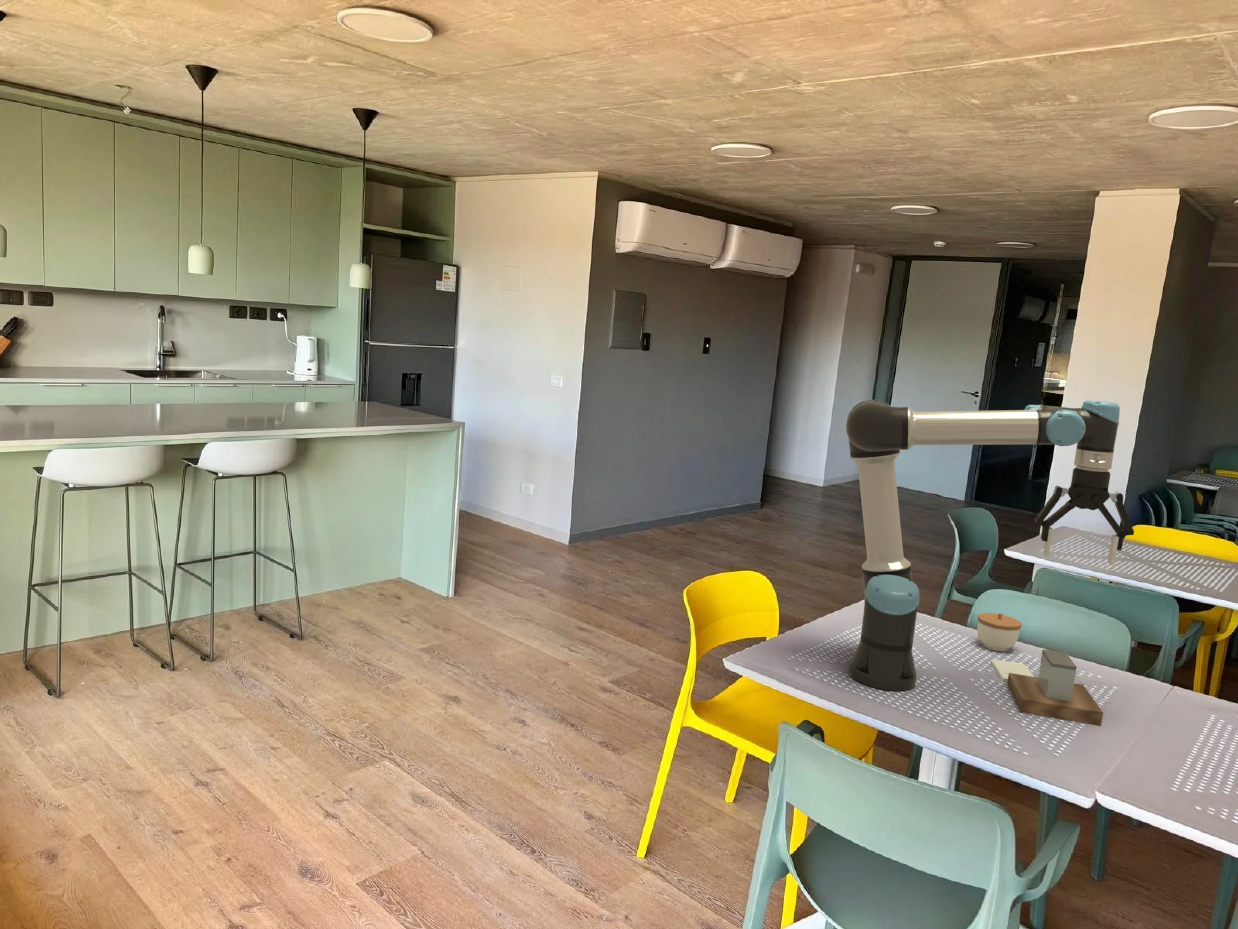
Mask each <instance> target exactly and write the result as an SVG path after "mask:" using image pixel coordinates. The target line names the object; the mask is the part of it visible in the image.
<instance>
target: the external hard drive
mask: <svg viewBox="0 0 1238 929" xmlns="http://www.w3.org/2000/svg"><path fill="white" fill-rule="evenodd" d="M990 665H991V666H992V668H993V670H994V671H995V672H996V674H997V675H998V677H999V678H1000V680H1001V681H1002V682H1003V683H1007V682H1008V675H1009V673H1013V674H1019V675H1026V676H1032V677H1035V676H1034V675H1033V673H1032V672H1031V671H1030V669H1029V668H1028V667H1027V665H1026V664H1025V663H1022V662H1014V661H1006V660H999V659H990Z"/></svg>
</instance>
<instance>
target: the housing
mask: <svg viewBox="0 0 1238 929" xmlns="http://www.w3.org/2000/svg"><path fill="white" fill-rule="evenodd" d="M1077 669H1078V668H1077V666H1076V664H1075V663H1074V662H1073V660H1072V659H1071V657H1070V656H1069V654H1068V653H1067V652H1061V651H1057V650H1055V651H1054V650H1048V649H1042V652H1041V658H1040V664H1039V670H1038V682H1037V683H1038V684H1039V686H1040V688H1041V689H1042V691H1043V693H1044V695H1045V696H1046V698H1052V699H1058V700H1064V701H1070V702H1071V699H1072V692H1073V686H1074V683H1075V679H1076V673H1077Z"/></svg>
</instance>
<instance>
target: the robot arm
mask: <svg viewBox="0 0 1238 929" xmlns="http://www.w3.org/2000/svg"><path fill="white" fill-rule="evenodd" d="M1120 409H1121V407H1120V406H1119V404H1118V403H1117V402H1114V401H1102V400H1101V401H1100V400H1089V399H1087V400H1084V401H1083V402H1082V406H1081V407H1078V408H1077V407H1075V408H1073V407H1065V406H1064V407H1063V406H1053V405H1045V404H1028V405H1026V406H1025V408H1024V409H1021V410H1020V409H1017V410H1015V409H1014V410H1013V409H1011V410H1010V409H1009V410H1008V409H1007V410H1000V409H998V410H935V411H933V410H930V411H929V410H928V411H927V410H926V411H924V410H923V411H915V410H913V409H912V408H911V407H909V406H901V407H900V406H891V405H890V404H888V403H887V402H885V401H882V400H879V399H867V400H862V401H860V402H858V403H857V404H856V405H854V406H853V407H852V409H851V410H850V411H849V413H848V415H847V418H846V424H845V427H846V429H845V430H846V435H847V438H848V445H849V446H848V447H849V453H850V454H849V455H850V459H851V460H852V461H854V462H855V463H856V465H857V472H858V480H859V490H860V491H859V492H860V500H861V510H862V512H861V513H862V520H863V529H864V539H865V540H864V541H865V549H866V560H865V561H864V562H863V563H862V565H861V571H862V572H861V573H862V574H861V575H862V583H863V593H864V599H863V600H864V604H863V605H864V606H863V616H862V622H861V623H862V625H861V632H860V640H859V643H858V646H856V650H855V651H854V654H853V655H852V657H851V659H850V661H849V666H848V674H849V675H850V674H851V676H852V677H853V678H855V679H856V680H855V679H854V680H855V681H857V680H858V681H860V682H862V683H861V684H862V685H865V684H867V685H866V686H868V685H869V686H868V687H871V686H872V687H871V688H874V687H875V688H874V689H879V688H880V689H879V690H884V689H885V691H896V692H897V691H901V692H902V691H908V690H911V689H913V688H914V687H915V686H916V683H917V670H916V666H915V660H914V656H913V644H914V637H915V629H916V623H917V622H916V620H917V614H918V608H919V607H918V606H919V605H920V600H921V599H920V589H919V587H918V585H917V584H916V583H915V582H913V581H914V580H913V574H912V572H913V571H912V564H911V561H909V560H908V559H907V558H905V557H904V548H903V537H902V529H901V517H900V515H901V514H900V506H899V505H900V504H899V498H898V497H899V496H898V486H897V478H896V475H897V474H896V464H895V460H896V459H897V458H898V456H899V455H900V454H901V450H905V451H906V450H910V449H911V448H912V447H914V446H953V445H954V446H955V445H956V446H957V445H958V446H959V445H960V446H963V445H964V446H965V445H967V446H968V445H970V446H971V445H981V446H982V445H984V446H985V445H986V446H987V445H992V446H993V445H994V446H996V445H1056V446H1058V447H1069V446H1074V445H1075V444H1076V450H1075V456H1074V463H1073V465H1074V466H1076V467H1074V468H1073V469H1072V475H1071V476H1072V477H1071V482H1070V486H1069V487H1068V488H1066V487H1062V486H1060V485H1055V487H1054V490H1053V494H1052V496H1050V498H1049V499H1048V500H1047V502H1046V503H1045V505H1044V506H1043V507H1042V509H1041V510H1040V511H1039V513H1038V514H1037V515H1036V517H1035V518H1034V522H1035V523H1036V524H1037V525H1039V526H1041V534H1040V539H1041V541H1042V542H1044V548H1043V552H1042V553H1043V556H1045V557H1048V558H1049V557H1050V553H1051V545H1052V538H1053V531H1054V529H1053V527H1052V526H1053V525H1055V524H1056V523H1057V522H1058V521H1059V520H1060V519H1062V518H1064V516H1065V515H1067V514H1068V513H1069V512H1071V510H1074V509H1075V508H1078V509H1080V510H1090V511H1095V510H1098V511H1099V512H1100V513H1101V515H1103V517H1104V519H1105V520H1106V521H1107V523H1108V524H1109V525H1110V526H1111V528H1112V530H1113V531H1114V532H1115V534H1112V535H1111V539H1110V545H1109V546H1110V547H1109V553H1108V558H1107V563H1108V564H1109V565H1111V566H1115V564H1116V557H1117V552H1118V551H1122V549H1123V544H1124V538H1126V537H1127V536H1133V535H1134V534H1135V531H1134V528H1133V526H1132V523H1131V521H1130V518H1129V515H1128V513H1127V510H1126V507H1125V504H1124V494H1123V493H1121V492H1120V491H1116V492H1109V487H1110V486H1109V485H1110V479H1111V473H1110V470H1111V469H1112V465H1113V458H1114V452H1115V444H1116V440H1117V433H1118V428H1119V425H1120V413H1121V412H1120ZM1065 495H1068V497H1069V500H1067V501H1066V502H1065V503H1064V504H1063V505H1062V506H1061V507H1060V508H1059V509H1057V510H1056V511H1054V513H1052V514H1051V515H1050V516H1049V514H1050V513H1051V511H1052V510H1053V509H1054V507H1055V506H1056V505H1057V503H1058V502H1059V501H1060V499H1061V498H1063V497H1064V496H1065ZM1109 499H1111V502H1112V503H1114V506H1115V508H1116V511H1117V513H1118V517H1119V518H1120V521H1121V524H1122V526H1123V528H1124V529H1122V528H1121V526H1120V525H1119V523H1118V522H1117V521H1116V520H1115V518H1114V517H1113V515H1112V514H1111V513H1110V512H1109V510H1108V508H1107V507H1106V505H1105V503H1106V502H1107V501H1108V500H1109ZM1048 516H1049V517H1048ZM851 676H850V677H851ZM852 677H851V678H852ZM853 678H852V679H853ZM858 681H857V682H858ZM860 682H859V683H860Z"/></svg>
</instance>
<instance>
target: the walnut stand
mask: <svg viewBox="0 0 1238 929" xmlns="http://www.w3.org/2000/svg"><path fill="white" fill-rule="evenodd" d="M1037 682H1038V677H1037V676H1034V677H1032V676H1026V675H1019V674H1013V673H1009V675H1008V682H1006V683H1007V684H1006V685H1007V688H1008V690H1009V692H1010V694H1011V696H1012V697H1013V700H1014V702H1015V704H1016V706H1017V708H1018V710H1019V712H1020V713H1023V714H1029V715H1034V716H1035V715H1036V716H1040V717H1046V718H1053V719H1059V720H1065V721H1071V722H1075V723H1076V722H1077V723H1083V724H1089V725H1095V726H1102V721H1103V715H1104V711H1103V710H1102V708H1101V707H1100V706H1099V704H1098V703H1097V702H1096V701H1095V698H1093V696H1092V695H1091V693H1090V692H1089V691H1088V689H1087V688H1086V686H1084V684H1081V683H1075V682H1074V686H1073V692H1072V699H1071V702H1070V701H1064V700H1058V699H1052V698H1046V696H1045V695H1044V693H1043V691H1042V689H1041V688H1040V686H1039V684H1038V683H1037Z"/></svg>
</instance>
